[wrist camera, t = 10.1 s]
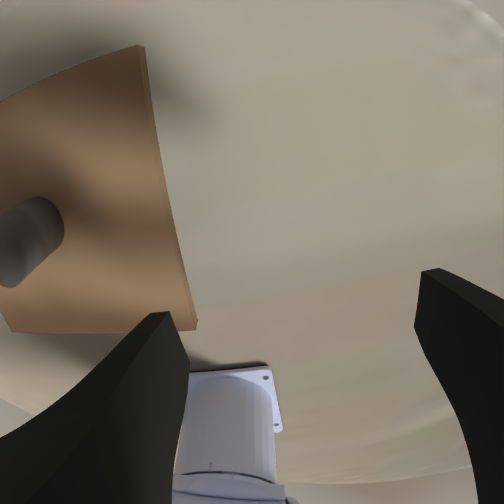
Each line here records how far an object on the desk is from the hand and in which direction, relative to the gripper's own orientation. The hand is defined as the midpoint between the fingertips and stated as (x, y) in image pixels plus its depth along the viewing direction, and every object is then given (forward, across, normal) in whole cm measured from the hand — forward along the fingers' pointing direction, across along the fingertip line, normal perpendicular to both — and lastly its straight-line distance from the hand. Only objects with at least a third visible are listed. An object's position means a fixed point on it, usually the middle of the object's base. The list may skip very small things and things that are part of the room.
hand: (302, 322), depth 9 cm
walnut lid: (+6, +11, -3) cm, 13 cm away
